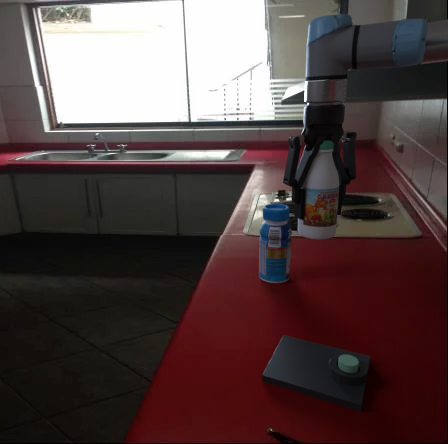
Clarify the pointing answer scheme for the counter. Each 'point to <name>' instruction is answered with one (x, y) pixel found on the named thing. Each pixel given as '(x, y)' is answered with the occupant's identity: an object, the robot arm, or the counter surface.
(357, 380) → the scale
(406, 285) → the counter surface
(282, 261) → the beverage bottle
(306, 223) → the milk bottle
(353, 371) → the button
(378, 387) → the counter surface
